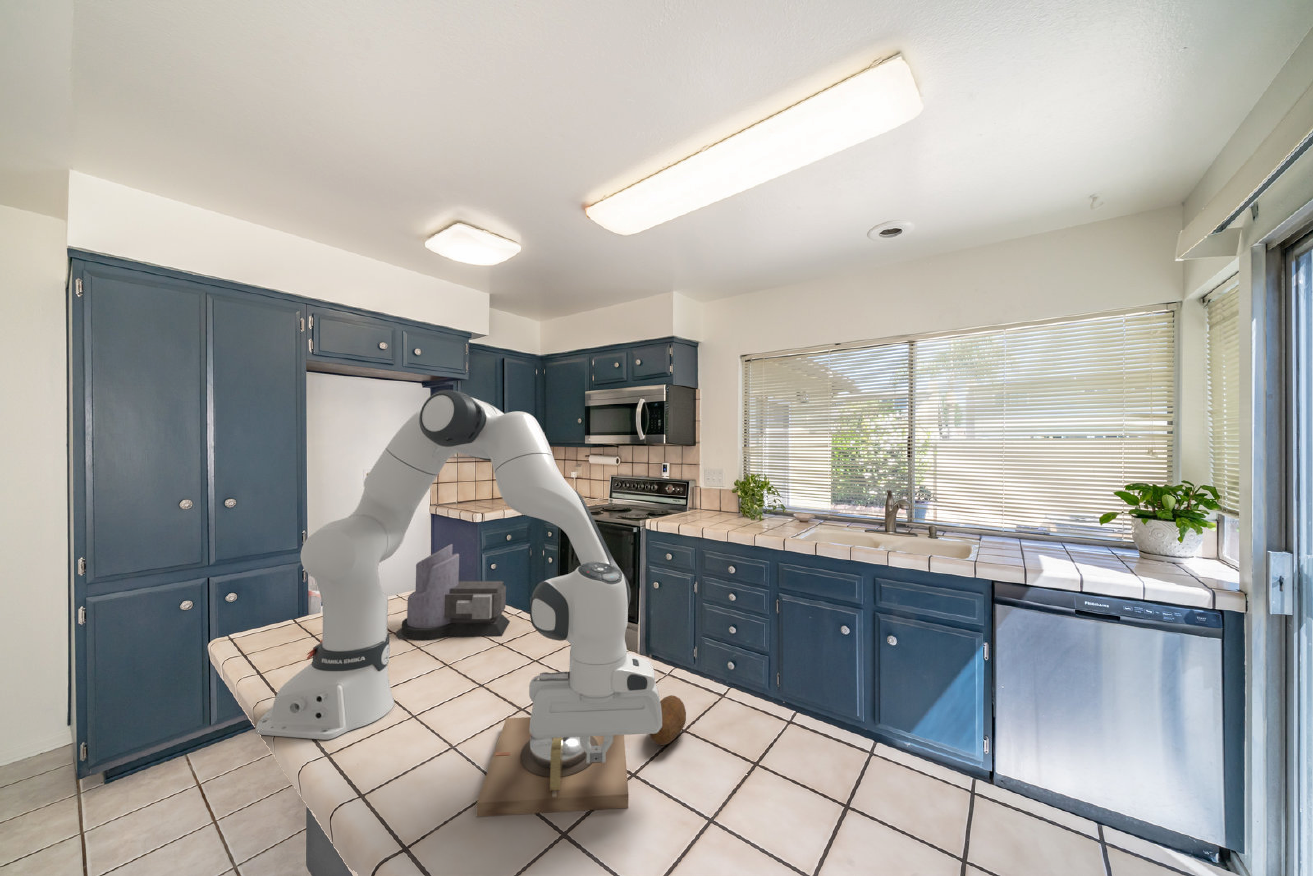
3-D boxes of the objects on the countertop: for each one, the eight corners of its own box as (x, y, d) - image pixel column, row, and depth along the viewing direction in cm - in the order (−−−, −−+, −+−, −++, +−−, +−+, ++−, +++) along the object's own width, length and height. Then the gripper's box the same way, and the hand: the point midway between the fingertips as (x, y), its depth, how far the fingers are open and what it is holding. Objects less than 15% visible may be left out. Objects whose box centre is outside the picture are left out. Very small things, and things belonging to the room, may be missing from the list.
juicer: (385, 641, 132) (388, 550, 132) (410, 620, 147) (412, 538, 148) (500, 640, 134) (502, 550, 135) (511, 619, 150) (514, 539, 151)
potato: (639, 753, 86) (640, 713, 86) (656, 718, 97) (657, 683, 98) (677, 760, 85) (678, 720, 85) (690, 724, 96) (690, 688, 96)
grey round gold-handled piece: (534, 732, 87) (535, 698, 87) (590, 730, 89) (591, 697, 89) (520, 792, 72) (521, 751, 73) (588, 788, 74) (589, 748, 74)
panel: (476, 816, 71) (476, 801, 71) (505, 728, 93) (506, 717, 93) (628, 807, 73) (628, 793, 73) (622, 724, 95) (622, 712, 95)
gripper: (526, 683, 72) (524, 778, 72) (664, 678, 74) (662, 770, 74) (532, 663, 78) (530, 751, 78) (659, 660, 80) (658, 745, 80)
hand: (595, 760), depth 76 cm, fingers closed
